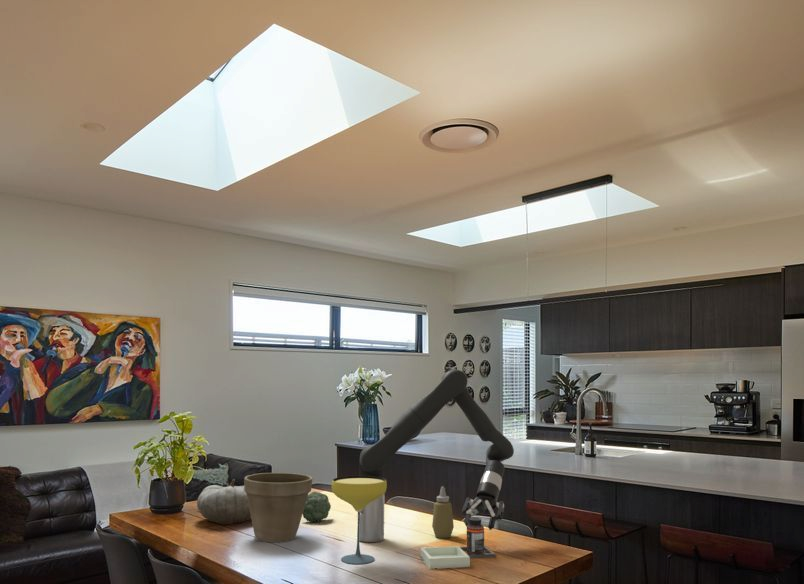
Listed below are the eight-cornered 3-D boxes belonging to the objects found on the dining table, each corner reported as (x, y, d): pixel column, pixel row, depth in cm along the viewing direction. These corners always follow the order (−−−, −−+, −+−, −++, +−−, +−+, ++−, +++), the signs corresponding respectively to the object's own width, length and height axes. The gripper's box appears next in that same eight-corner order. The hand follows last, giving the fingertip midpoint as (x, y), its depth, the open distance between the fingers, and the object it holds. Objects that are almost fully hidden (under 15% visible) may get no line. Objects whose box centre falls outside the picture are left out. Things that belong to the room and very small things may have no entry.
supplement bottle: (465, 551, 211) (465, 516, 212) (482, 551, 211) (482, 516, 213) (468, 556, 205) (468, 520, 206) (486, 555, 205) (485, 520, 207)
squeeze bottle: (452, 539, 226) (452, 488, 228) (430, 538, 227) (430, 488, 230) (454, 534, 233) (454, 485, 236) (433, 533, 235) (433, 484, 238)
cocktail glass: (325, 567, 191) (327, 483, 195) (334, 551, 209) (336, 475, 213) (383, 568, 190) (384, 484, 194) (387, 552, 208) (388, 476, 212)
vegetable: (326, 509, 267) (340, 498, 256) (312, 535, 258) (325, 525, 247) (304, 493, 266) (316, 481, 256) (288, 518, 257) (300, 507, 247)
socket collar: (465, 558, 202) (465, 555, 202) (456, 550, 212) (456, 546, 212) (495, 557, 204) (495, 553, 204) (485, 548, 214) (485, 545, 214)
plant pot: (323, 534, 232) (325, 474, 236) (284, 549, 210) (287, 484, 214) (269, 527, 243) (271, 470, 246) (226, 541, 221) (230, 478, 224)
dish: (429, 568, 190) (429, 558, 191) (420, 557, 203) (420, 547, 203) (469, 566, 193) (469, 556, 193) (458, 555, 205) (458, 546, 206)
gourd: (225, 524, 234) (226, 477, 240) (181, 528, 246) (183, 482, 252) (272, 520, 254) (271, 476, 260) (229, 523, 267) (230, 481, 272)
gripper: (468, 479, 224) (455, 518, 213) (505, 482, 218) (495, 522, 206) (474, 492, 228) (462, 530, 217) (511, 495, 221) (500, 536, 210)
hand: (478, 526), depth 211 cm, fingers open, 8 cm apart
